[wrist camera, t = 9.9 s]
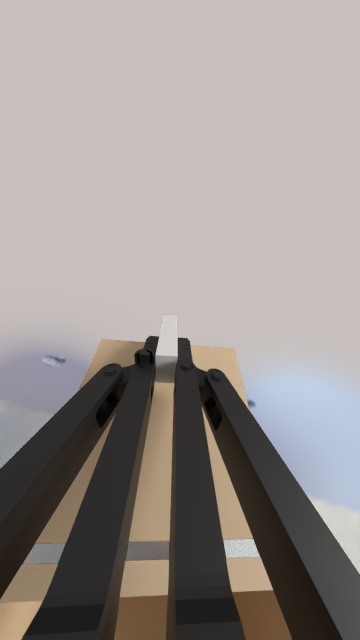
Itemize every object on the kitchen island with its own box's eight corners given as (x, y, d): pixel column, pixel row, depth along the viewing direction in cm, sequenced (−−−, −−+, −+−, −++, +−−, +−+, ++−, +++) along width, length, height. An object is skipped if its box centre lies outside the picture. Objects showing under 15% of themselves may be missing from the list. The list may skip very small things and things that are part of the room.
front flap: (274, 531, 8) (232, 350, 15) (280, 538, 8) (234, 348, 15) (19, 536, 7) (103, 341, 14) (10, 544, 7) (101, 339, 14)
